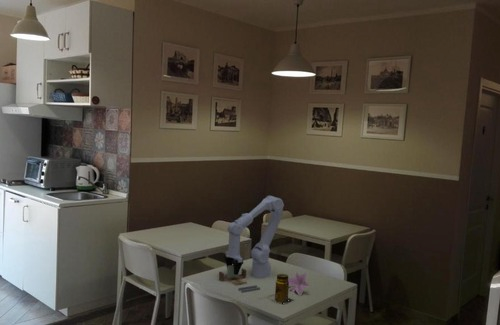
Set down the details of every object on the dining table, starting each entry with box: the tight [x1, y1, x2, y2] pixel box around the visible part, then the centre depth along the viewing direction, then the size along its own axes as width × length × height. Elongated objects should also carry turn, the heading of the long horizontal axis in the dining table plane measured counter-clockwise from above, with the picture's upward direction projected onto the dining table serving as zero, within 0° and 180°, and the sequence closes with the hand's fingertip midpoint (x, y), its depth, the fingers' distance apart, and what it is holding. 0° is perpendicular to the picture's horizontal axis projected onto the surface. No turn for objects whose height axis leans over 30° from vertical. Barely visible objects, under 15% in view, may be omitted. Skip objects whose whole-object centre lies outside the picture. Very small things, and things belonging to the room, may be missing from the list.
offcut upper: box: [231, 279, 248, 286], centre depth 226 cm, size 6×4×1 cm
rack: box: [218, 268, 247, 282], centre depth 229 cm, size 14×14×6 cm
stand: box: [238, 284, 261, 294], centre depth 217 cm, size 12×8×2 cm, turn 120°
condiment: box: [271, 273, 295, 305], centre depth 210 cm, size 7×8×12 cm
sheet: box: [226, 264, 240, 278], centre depth 232 cm, size 6×1×8 cm, turn 120°
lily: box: [288, 271, 311, 297], centre depth 222 cm, size 12×12×10 cm
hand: (232, 272), depth 231 cm, fingers open, 7 cm apart
